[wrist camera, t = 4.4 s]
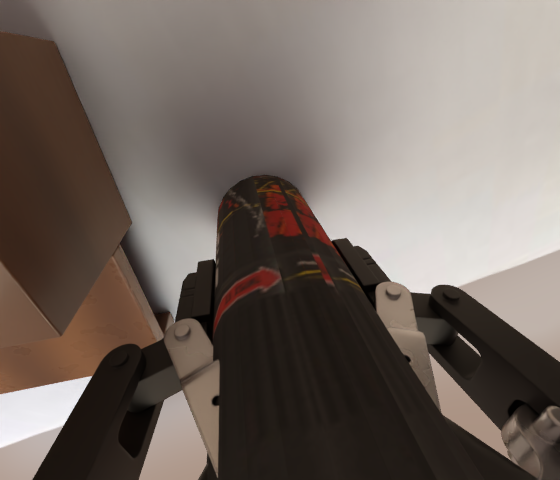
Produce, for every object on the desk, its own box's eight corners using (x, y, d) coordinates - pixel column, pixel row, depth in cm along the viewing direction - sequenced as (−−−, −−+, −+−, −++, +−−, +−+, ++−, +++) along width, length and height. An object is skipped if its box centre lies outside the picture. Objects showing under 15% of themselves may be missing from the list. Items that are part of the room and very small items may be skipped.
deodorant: (311, 243, 20) (468, 547, 7) (232, 263, 19) (247, 619, 7) (300, 165, 16) (556, 469, 4) (204, 187, 16) (134, 602, 3)
